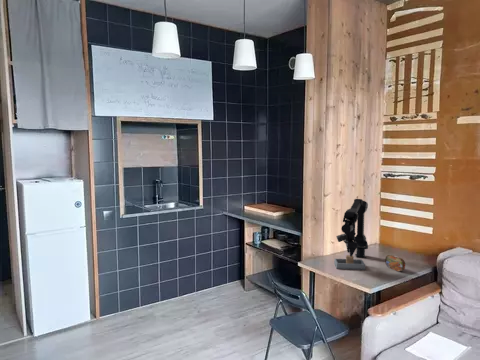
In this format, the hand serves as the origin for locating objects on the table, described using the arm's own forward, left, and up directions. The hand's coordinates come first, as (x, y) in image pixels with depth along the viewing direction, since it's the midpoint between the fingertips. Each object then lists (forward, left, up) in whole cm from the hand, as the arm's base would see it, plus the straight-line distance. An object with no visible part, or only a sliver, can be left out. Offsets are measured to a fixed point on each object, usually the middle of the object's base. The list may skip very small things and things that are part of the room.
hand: (349, 254), depth 239 cm
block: (0, 0, -7) cm, 7 cm away
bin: (0, 0, -8) cm, 8 cm away
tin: (+1, +28, -8) cm, 29 cm away
